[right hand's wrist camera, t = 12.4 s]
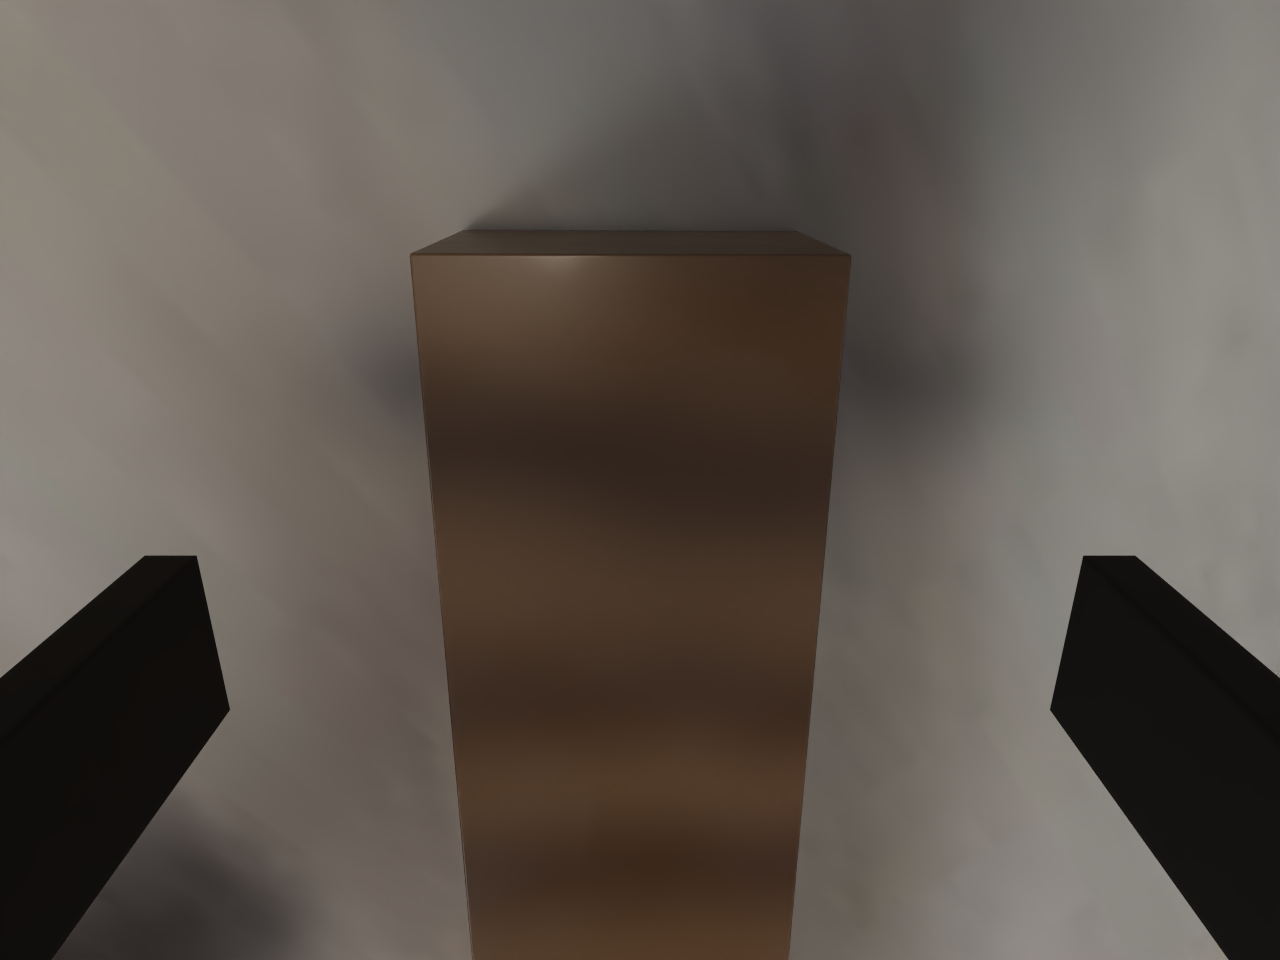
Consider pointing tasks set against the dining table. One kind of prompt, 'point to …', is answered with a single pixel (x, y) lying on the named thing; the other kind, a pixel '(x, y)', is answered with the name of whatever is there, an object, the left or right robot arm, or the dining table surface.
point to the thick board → (630, 576)
